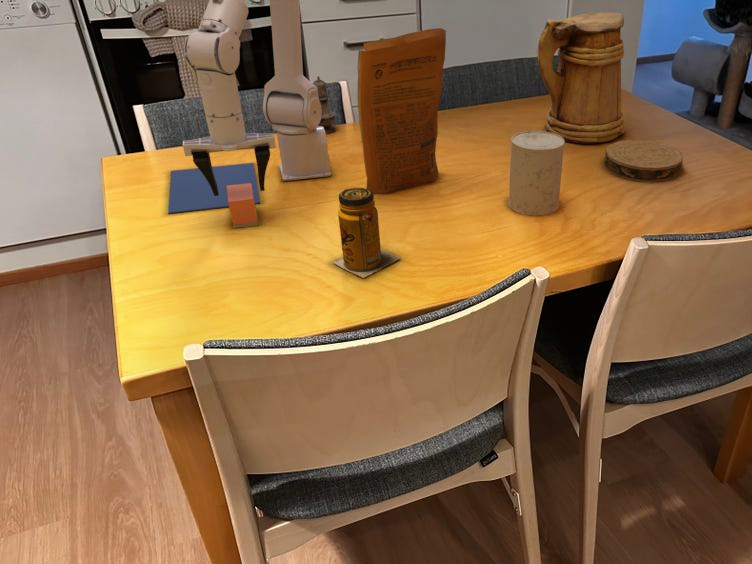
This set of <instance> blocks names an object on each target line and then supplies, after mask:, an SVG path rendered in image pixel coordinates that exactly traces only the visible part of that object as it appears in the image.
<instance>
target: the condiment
mask: <svg viewBox="0 0 752 564" xmlns="http://www.w3.org/2000/svg"><path fill="white" fill-rule="evenodd" d="M338 202H339V210H338V211H337V212H338V213H337V218H338V224H339V234H340V240H341V241H340V243H341V250H342V251H341V252H342V258H341V259H338V260H336V261H333V262H332V264H333V265H336V266H338V267H340V268H341V269H344V270H345V271H348V272H350V273H352V274H354V275H356V276H359V277H361V278H363V279H364V278H366V277H368V276H371V275H372V274H375V273H377V272H378V271H380V270H382V269H383V268H385V267H386V266H389V265H391V264H393V263H395V262H397V261H398V260H400V259H402V256H399V255H396V254H394V253H391V252H388V251H387V250H384V249H382V248H381V237H380V224H379V212H378V209H377V207H376V205H375V202H376V201H375V195H374V193H372V191H370V190H369V189H366V187H348V188H345V189H344V190H342V191H340V192H339V193H338Z"/></svg>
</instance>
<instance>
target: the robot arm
mask: <svg viewBox="0 0 752 564" xmlns="http://www.w3.org/2000/svg"><path fill="white" fill-rule="evenodd" d="M269 8H270V9H269V11H270V23H271V24H270V25H271V34H272V35H271V38H272V39H271V40H272V52H273V64H274V65H273V68H274V76H273V77H272V78H271V79H270V80H269V81H267V82H266V83H265V84H264V86H263V88H264V95H263V101H262V114H263V116H264V118H265V121H266V122H267V123H268V124H269V125H270V126H271V127H272V130H273V131H276V137H277V142H278V149H279V156H280V162H281V164H278V167H279V170H280V174H281V178H282V181H283V182H287V181H296V180H297V181H298V180H307V179H317V178H327V177H331V176H332V173H331V166H330V165H331V164H330V163H331V159H330V153H329V148H328V147H329V146H328V141H327V135H326V134H325V130H324V127H323V126H318V125H319V123H320V121H321V116H322V109H321V104H320V101H319V96H318V88H317V87H316V86H315V85H314V84H313V82H311V81H310V80H309V79H308V78H307V77H306V76H304V67H303V47H302V32H301V30H302V29H301V12H300V11H301V10H300V0H269ZM248 15H249V8H248V5H247V3H246V0H208V3H207V6H206V9H205V11H204V13H203V16H202V19H201V21H200V23H199V26H198V29H197V30H194V31H193V32H190V34H189V35H187V37H186V38H185V41H184V45H183V50H184V54H183V59H184V62H185V65H186V66H187V67H188V68H189V69H190V71H191V74H192V76H193V80H194V81H195V83H197V84H198V87H199V92H200V96H201V101H202V106H203V110H204V115H205V120H206V124H207V128H208V134H209V136H203V137H200V138H195V139H189V140H182V148H183V153H184V156H185V157H192V160H193V163H194V165H195V167H196V168H198V169H199V170H200V171H201V172H202V174H203V175H204V176H205V178H206V179H207V181H208V183H209V185H210V186H211V189H212V191H213V193H214V196H219V195H218V187H217V183H216V180H215V177H214V173H213V169H212V167H213V165H212V161H211V156H210V153H211V154H212V153H220V152H221V153H222V152H235V151H243V150H253V151H254V156H255V161H256V169H257V178H258V184H259V185H258V186H259V189H260V190H259V191H260V192H265V181H266V180H265V179H266V178H265V177H266V172H267V167H268V164H269V161H270V159H271V149H276V148H277V145H276V140H275V135H274V132H271V133H259V132H257V133H254V132H253V133H252V132H250V133H249V132H246V127H245V121H244V115H243V110H242V104H241V99H240V93H239V88H238V83H237V78H236V70H237V69H238V67H239V65H240V58H241V53H240V49H241V40H240V36H241V34H242V31H243V28H244V25H245V24H246V21H247V18H248Z"/></svg>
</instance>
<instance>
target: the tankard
mask: <svg viewBox="0 0 752 564" xmlns="http://www.w3.org/2000/svg"><path fill="white" fill-rule="evenodd" d="M624 24H625V17H624V15H623V14H622V12H621V13H619V12H610V11H609V12H606V11H602V12H601V11H599V12H590V13H583V14H576V15H572V16H569V17H567V18H565V19H564V20H560V19H549V18H548V19H547V20H546V23H545V26H544V27H543V30H542V31H541V34H540V36H539V40H538V45H537V67H538V72H539V74H540V77H541V79H542V82H543V84H544V86H545V88H546V89H547V91H548V94H549V97H550V99H551V105H550V106H551V107H550V108H549V110H548V112H547V113H546V122H545V124H544V128H545V130H546V132H551V133H554V134H557V135H559V136H561V137H562V138H563V139H564V141H565V142H568V143H572V144H573V143H574V144H588V145H589V144H599V143H605V142H609V141H613V140H615V139H617V138H618V137H620V136H621V135H622V134H624V132H625V128H626V127H625V120H624V118H625V117H624V113H623V112H622V59H623V58H624V56H625V50H624V41H623V39H622V38H621V35H622V31H621V29H622V28H623V27H624ZM556 52H557V56H558V57H559V61H558V66H557V70H555V69H554V65H553V62H554V56H555V54H556Z"/></svg>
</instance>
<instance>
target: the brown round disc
mask: <svg viewBox="0 0 752 564" xmlns="http://www.w3.org/2000/svg"><path fill="white" fill-rule="evenodd" d="M604 156H605V157H604V162H603V163H604V164H603V165H604V168H605V169H606V170H607V171H608V172H609V173H611V174H612V175H614V176H616V177H618V178H622V179H625V180H628V181H634V182H641V183H658V182H659V183H660V182H666V181H670V180H673V179H675V178H677V177H678V176H680V173H681V170H682V165H683V161H684V155H683V153H682V151H680V149H678V148H676V147H675V146H672V145H669V144H667V143H664V142H659V141H656V140H647V139H625V140H619V141H614V142H613V143H610V144H609V145H608V146H607V147H606V149H605V155H604Z"/></svg>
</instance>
